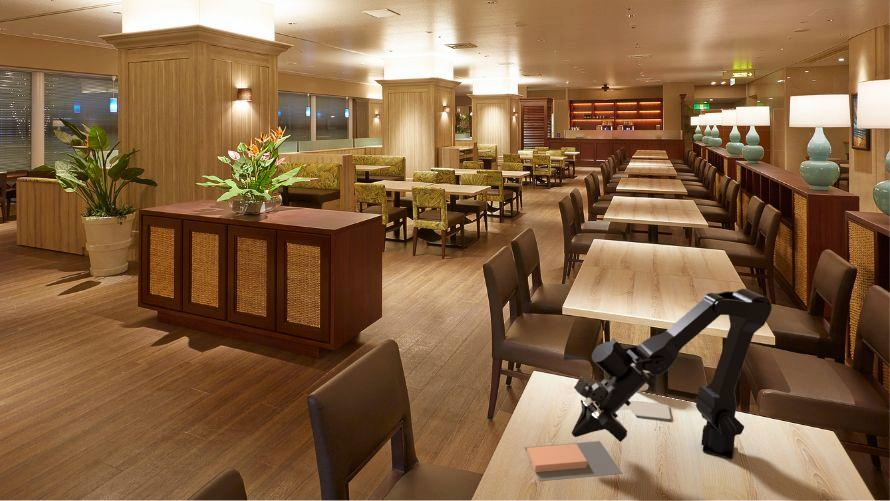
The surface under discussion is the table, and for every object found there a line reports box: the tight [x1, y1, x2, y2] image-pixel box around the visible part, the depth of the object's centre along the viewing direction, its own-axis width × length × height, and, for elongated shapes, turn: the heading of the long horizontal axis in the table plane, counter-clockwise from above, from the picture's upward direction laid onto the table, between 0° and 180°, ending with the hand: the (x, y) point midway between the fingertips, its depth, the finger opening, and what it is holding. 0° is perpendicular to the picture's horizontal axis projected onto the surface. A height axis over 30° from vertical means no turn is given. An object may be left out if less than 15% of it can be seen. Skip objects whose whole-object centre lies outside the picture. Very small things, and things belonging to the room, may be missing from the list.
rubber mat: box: [524, 440, 623, 482], centre depth 130 cm, size 19×13×1 cm
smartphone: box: [618, 400, 672, 422], centre depth 153 cm, size 8×1×15 cm
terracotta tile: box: [526, 443, 587, 473], centre depth 130 cm, size 2×7×12 cm
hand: (573, 435), depth 129 cm, fingers closed
